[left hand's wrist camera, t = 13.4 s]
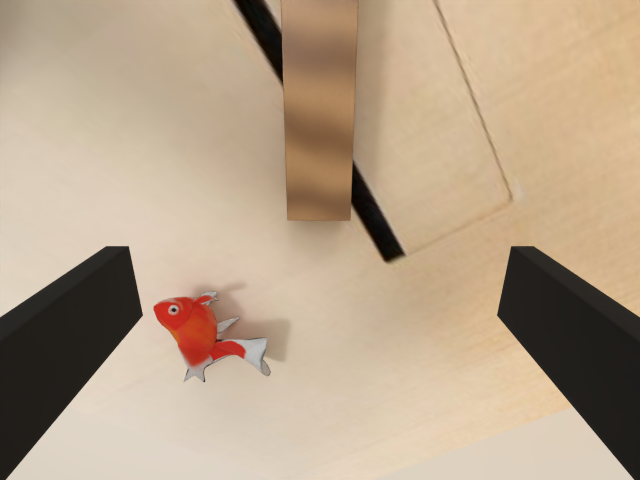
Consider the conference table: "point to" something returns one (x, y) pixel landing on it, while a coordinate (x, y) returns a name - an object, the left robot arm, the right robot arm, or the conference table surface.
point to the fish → (205, 335)
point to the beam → (319, 106)
